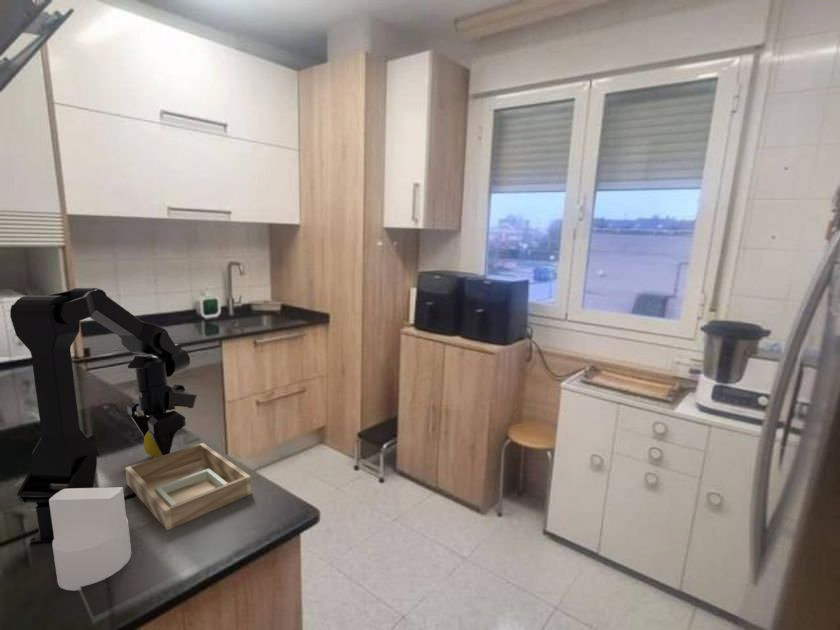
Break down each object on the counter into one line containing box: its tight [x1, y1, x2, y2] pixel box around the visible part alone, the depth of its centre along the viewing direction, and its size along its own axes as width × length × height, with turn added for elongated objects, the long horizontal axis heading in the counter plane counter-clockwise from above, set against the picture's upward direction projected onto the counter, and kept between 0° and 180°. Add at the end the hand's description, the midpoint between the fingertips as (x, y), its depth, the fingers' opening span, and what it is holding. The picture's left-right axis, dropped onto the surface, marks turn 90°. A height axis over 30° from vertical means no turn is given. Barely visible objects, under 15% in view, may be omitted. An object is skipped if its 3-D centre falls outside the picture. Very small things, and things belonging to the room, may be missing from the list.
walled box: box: [124, 442, 253, 531], centre depth 86 cm, size 22×15×4 cm
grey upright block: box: [49, 486, 132, 591], centre depth 65 cm, size 9×9×12 cm
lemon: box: [143, 430, 173, 458], centre depth 99 cm, size 6×6×8 cm
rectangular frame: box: [155, 468, 227, 507], centre depth 85 cm, size 10×10×2 cm
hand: (158, 449), depth 100 cm, fingers open, 9 cm apart
